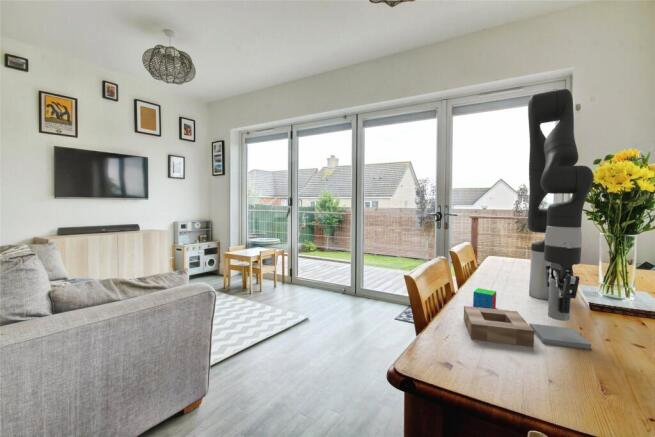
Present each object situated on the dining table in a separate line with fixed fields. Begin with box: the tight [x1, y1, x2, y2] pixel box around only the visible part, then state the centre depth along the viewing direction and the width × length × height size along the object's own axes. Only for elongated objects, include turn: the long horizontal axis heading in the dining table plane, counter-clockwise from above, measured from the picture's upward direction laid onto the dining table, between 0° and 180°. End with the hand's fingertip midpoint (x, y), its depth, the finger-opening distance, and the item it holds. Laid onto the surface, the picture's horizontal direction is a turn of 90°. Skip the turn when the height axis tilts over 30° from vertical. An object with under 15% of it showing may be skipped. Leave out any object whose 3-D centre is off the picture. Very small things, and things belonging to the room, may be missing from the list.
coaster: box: [529, 323, 592, 350], centre depth 80 cm, size 10×10×1 cm
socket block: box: [463, 305, 535, 348], centre depth 83 cm, size 14×14×4 cm
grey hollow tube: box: [547, 277, 572, 322], centre depth 80 cm, size 4×4×10 cm
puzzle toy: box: [472, 287, 497, 309], centre depth 102 cm, size 6×6×6 cm
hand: (559, 308), depth 80 cm, fingers closed on grey hollow tube, 4 cm apart
